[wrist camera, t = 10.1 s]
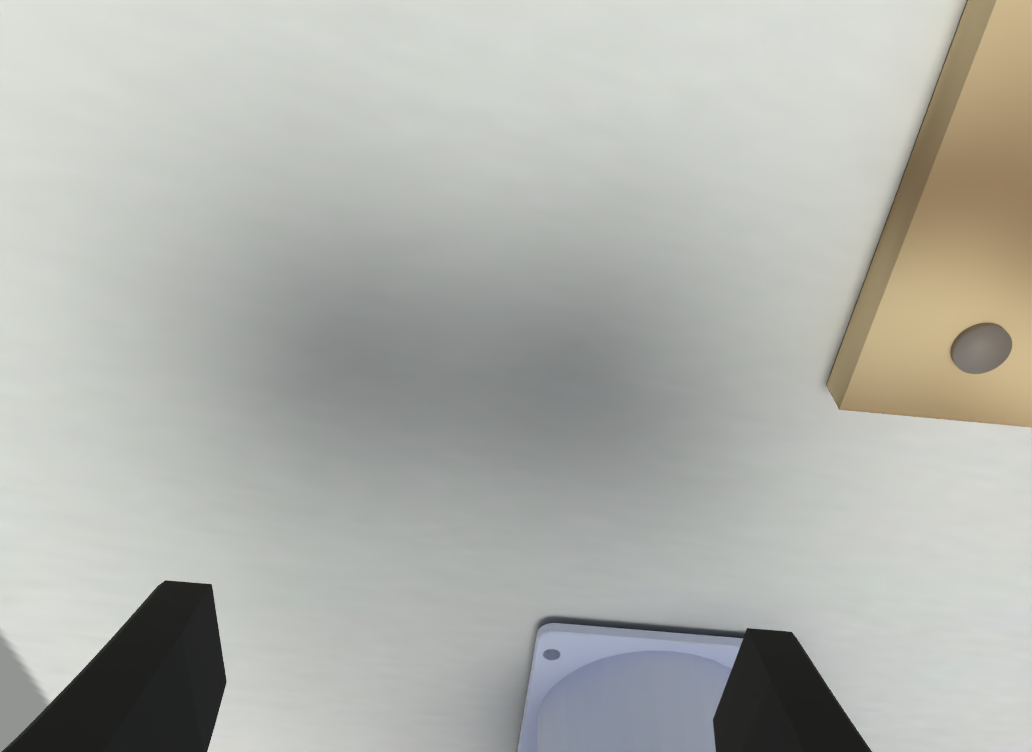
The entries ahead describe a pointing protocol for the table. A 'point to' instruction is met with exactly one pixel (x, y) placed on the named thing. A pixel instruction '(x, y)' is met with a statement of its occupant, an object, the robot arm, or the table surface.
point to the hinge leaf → (956, 246)
